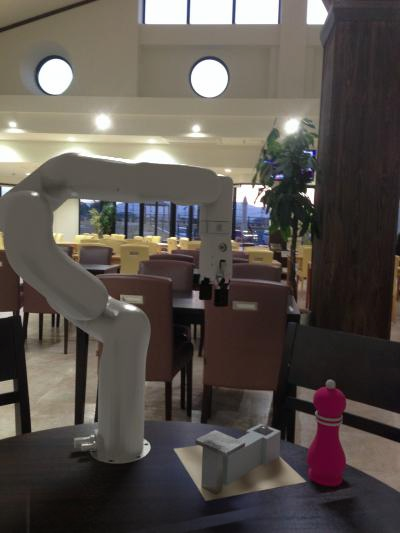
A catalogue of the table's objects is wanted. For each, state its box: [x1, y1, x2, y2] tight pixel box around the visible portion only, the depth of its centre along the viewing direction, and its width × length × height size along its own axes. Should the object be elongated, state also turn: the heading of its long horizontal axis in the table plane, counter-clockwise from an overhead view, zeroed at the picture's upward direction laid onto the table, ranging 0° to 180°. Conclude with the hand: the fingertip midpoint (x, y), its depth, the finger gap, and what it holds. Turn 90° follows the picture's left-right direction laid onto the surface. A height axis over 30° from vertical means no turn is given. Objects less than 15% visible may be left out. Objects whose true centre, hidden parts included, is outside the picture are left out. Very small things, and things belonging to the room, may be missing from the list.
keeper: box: [195, 429, 245, 495], centre depth 81 cm, size 6×7×9 cm
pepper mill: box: [306, 379, 347, 493], centre depth 84 cm, size 7×7×20 cm
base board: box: [173, 444, 307, 502], centre depth 88 cm, size 20×19×1 cm
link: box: [222, 423, 282, 486], centre depth 87 cm, size 16×5×6 cm, turn 138°
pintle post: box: [259, 424, 270, 436], centre depth 91 cm, size 2×2×8 cm
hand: (212, 303), depth 104 cm, fingers open, 9 cm apart
